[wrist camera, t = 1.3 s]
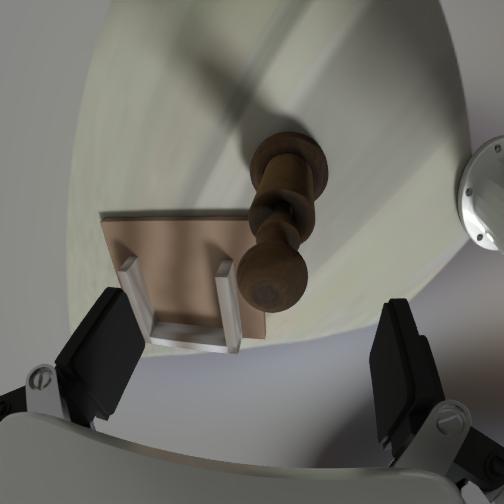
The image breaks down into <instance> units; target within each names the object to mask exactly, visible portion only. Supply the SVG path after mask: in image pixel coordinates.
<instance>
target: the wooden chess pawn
mask: <svg viewBox="0 0 504 504" xmlns="http://www.w3.org/2000/svg"><path fill="white" fill-rule="evenodd" d="M250 177H251V181H252V184H253V186H254V188H255V190H256V191H257V193H256V195H255V198H254V200H253V202H252V205H251V207H250V210H249V215H248V221H249V226H250V229H251V232H252V234H253V235H254V236H255V238H256V245H254V246H253V247H251V248H250V249H249V250H248V251H247V252H246V253H245V254H244V255H243V257H242V258H241V260H240V262H239V265H238V268H237V275H236V278H237V285H238V289H239V291H240V293H241V295H242V297H243V298H244V299H245V300H246V302H247V303H248V304H250V305H251V306H252V307H254V308H255V309H257V310H260V311H263V312H268V313H276V312H281V311H284V310H286V309H289V308H290V307H292V306H293V305H295V304H296V303H297V302H298V301H299V299H300V298H301V297H302V295H303V294H304V292H305V289H306V286H307V281H308V271H307V266H306V263H305V261H304V259H303V258H302V256H301V255H300V254H299V252H298V251H297V250H298V249H299V246H300V244H302V243H303V242H305V241H306V240H307V239H308V238H309V236H310V235H311V233H312V231H313V229H314V226H315V208H314V201H315V200H316V199H317V198H318V197H319V196H320V195H321V194H322V193H323V191H324V189H325V187H326V185H327V181H328V165H327V160H326V157H325V155H324V153H323V151H322V149H321V148H320V146H319V145H318V144H317V143H316V142H315V141H314V140H312V139H311V138H309V137H308V136H306V135H303V134H300V133H295V132H283V133H278V134H275V135H273V136H271V137H269V138H268V139H266V140H265V141H264V142H263V143H262V144H261V145H260V146H259V147H258V149H257V150H256V152H255V154H254V156H253V159H252V161H251V166H250Z"/></svg>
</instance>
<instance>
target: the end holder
mask: <svg viewBox="0 0 504 504" xmlns="http://www.w3.org/2000/svg"><path fill="white" fill-rule="evenodd" d="M100 223H101V226H102V230H103V233H104V236H105V240H106V243H107V246H108V250H109V253H110V256H111V259H112V262H113V265H114V268H115V271H116V274H117V277H118V280H119V283H120V286H121V288H122V289H123V291H124V292H125V293H126V294H127V296H128V298H129V301H130V304H131V307H132V309H133V312H134V314H135V317H136V320H137V322H138V325H139V327H140V330H141V332H142V335H143V337H144V340H145V343H151V344H158V345H164V346H171V347H179V348H186V349H194V350H202V351H211V352H221V353H231V354H238V352H239V348H240V344H241V340H242V338H253V339H265V336H266V324H265V312H263V311H260V310H257V309H255V308H254V307H252V306H251V305H250V304H248V303H247V302H246V300H245V299H244V298H243V297H242V295H241V293H240V291H239V289H238V285H237V278H236V275H237V268H238V265H239V262H240V260H241V258H242V257H243V255H244V254H245V253H246V252H247V251H248V250H249V249H250V248H251V247H253V246H254V245H256V238H255V236H254V235H253V234H252V232H251V229H250V226H249V221H248V216H173V217H122V218H104V219H103V220H102V221H101V222H100Z"/></svg>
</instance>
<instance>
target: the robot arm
mask: <svg viewBox="0 0 504 504" xmlns="http://www.w3.org/2000/svg"><path fill="white" fill-rule="evenodd" d="M458 211H459V216H460V220H461V223H462V225H463V227H464V229H465V231H466V232H467V234H468V235H469V236H470V238H471V239H472V240H473V241H474V242H475V243H476V244H478V245H479V246H481V247H483V248H485V249H489V250H500V251H501V253H502V254H503V255H504V136H499V137H495V138H492V139H491V140H489V141H487V142H485V143H484V144H483V145H482V146H481V147H480V148H479V149H477V151H476V152H475V153H474V154H473V156H472V157H471V158H470V160H469V162H468V164H467V165H466V167H465V169H464V172H463V175H462V178H461V181H460V186H459V190H458ZM144 348H145V340H144V337H143V335H142V332H141V330H140V327H139V325H138V322H137V320H136V317H135V314H134V312H133V309H132V307H131V304H130V301H129V298H128V296H127V294H126V293H125V292H124V291H123V289H121V288H114V287H107V288H106V289H105V290H104V292H103V293H102V294H101V296H100V297H99V298H98V300H97V301H96V302H95V304H94V305H93V306H92V308H91V309H90V311H89V312H88V313H87V315H86V316H85V318H84V319H83V320H82V322H81V323H80V325H79V326H78V327H77V329H76V330H75V332H74V333H73V335H72V336H71V338H70V339H69V341H68V342H67V343H66V345H65V347H64V348H63V349H62V351H61V352H60V354H59V355H58V357H57V359H56V360H55V364H56V366H55V368H54V367H53V366H51V365H49V364H42V365H38V366H36V367H35V368H34V369H33V370H31V371H30V373H29V374H28V376H27V378H26V385H25V386H23V387H21V388H18V389H16V390H14V391H11V392H9V393H7V394H4V395H2V396H0V504H504V447H502V446H501V445H499V444H498V443H496V442H495V441H493V440H491V439H490V438H488V437H487V436H485V435H484V434H482V433H481V432H479V431H478V430H476V429H474V428H473V427H471V416H470V413H469V411H468V410H467V408H466V407H465V406H464V405H463V404H461V403H460V402H457V401H454V400H445V396H444V393H443V389H442V385H441V382H440V378H439V375H438V372H437V368H436V365H435V361H434V358H433V355H432V352H431V349H430V345H429V342H428V340H427V338H426V337H425V336H424V335H419V334H418V330H417V327H416V324H415V321H414V318H413V315H412V312H411V310H410V307H409V304H408V301H407V299H406V298H397V299H390V300H389V302H388V303H384V305H383V309H382V313H381V317H380V320H379V324H378V328H377V331H376V335H375V339H374V342H373V345H372V349H371V352H370V358H369V363H370V371H371V378H372V386H373V395H374V403H375V413H376V423H377V434H378V441H379V443H383V448H384V450H391V449H392V456H393V457H394V460H393V461H392V462H391V464H390V465H389V466H388V467H380V468H379V467H377V468H343V469H315V468H284V467H269V466H257V465H247V464H238V463H230V462H224V461H216V460H210V459H204V458H199V457H193V456H188V455H183V454H178V453H173V452H169V451H165V450H160V449H156V448H152V447H148V446H144V445H141V444H137V443H133V442H130V441H126V440H123V439H120V438H116V437H113V436H110V435H107V434H104V433H101V432H98V431H96V429H95V426H94V422H93V419H94V417H95V416H96V417H97V418H100V419H103V420H106V421H107V420H108V418H109V416H110V415H112V414H113V413H114V412H115V409H116V407H117V405H118V403H119V401H120V399H121V396H122V394H123V392H124V390H125V388H126V386H127V384H128V381H129V379H130V377H131V375H132V373H133V371H134V369H135V367H136V365H137V363H138V361H139V359H140V357H141V355H142V353H143V350H144Z"/></svg>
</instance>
